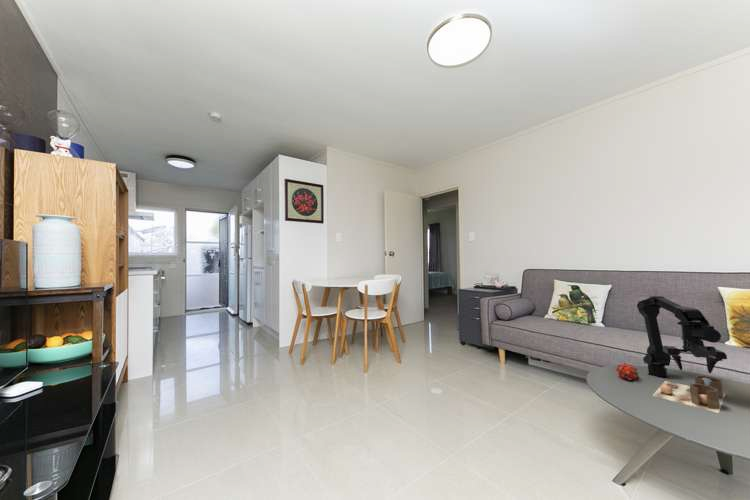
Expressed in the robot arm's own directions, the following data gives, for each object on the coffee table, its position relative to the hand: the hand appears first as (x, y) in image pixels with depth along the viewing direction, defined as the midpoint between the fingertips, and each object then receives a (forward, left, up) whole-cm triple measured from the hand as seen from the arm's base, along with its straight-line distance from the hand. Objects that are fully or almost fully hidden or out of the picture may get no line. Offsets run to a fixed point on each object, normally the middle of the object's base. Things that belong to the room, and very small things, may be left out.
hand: (695, 371), depth 126 cm
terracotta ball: (-8, -9, -10) cm, 16 cm away
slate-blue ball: (+4, +4, -5) cm, 8 cm away
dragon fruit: (-24, 0, -11) cm, 26 cm away
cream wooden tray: (-3, -3, -11) cm, 12 cm away
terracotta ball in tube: (+3, -10, -10) cm, 15 cm away
